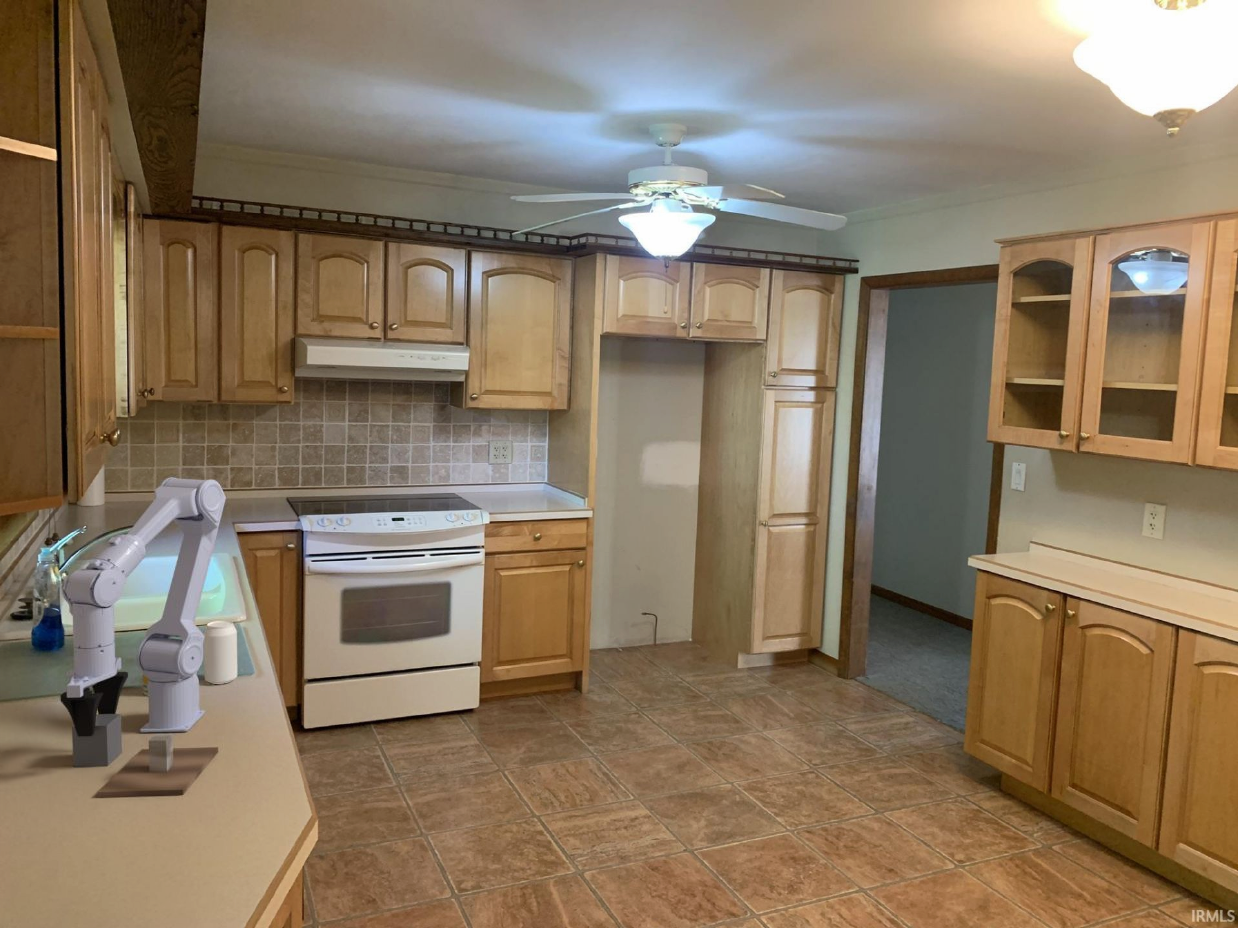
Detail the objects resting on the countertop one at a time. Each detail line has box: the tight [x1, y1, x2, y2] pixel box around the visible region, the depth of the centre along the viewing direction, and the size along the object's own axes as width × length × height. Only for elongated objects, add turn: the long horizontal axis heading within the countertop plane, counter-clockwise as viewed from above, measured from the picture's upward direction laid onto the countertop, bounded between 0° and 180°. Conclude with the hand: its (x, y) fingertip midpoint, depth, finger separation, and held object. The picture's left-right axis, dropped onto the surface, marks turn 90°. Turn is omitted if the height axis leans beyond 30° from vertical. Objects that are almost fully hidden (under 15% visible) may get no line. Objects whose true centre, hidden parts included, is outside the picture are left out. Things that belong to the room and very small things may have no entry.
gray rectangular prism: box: [71, 713, 123, 768], centre depth 148 cm, size 5×5×7 cm
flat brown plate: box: [97, 733, 219, 798], centre depth 143 cm, size 16×12×6 cm
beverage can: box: [203, 620, 238, 683], centre depth 187 cm, size 6×6×12 cm
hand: (96, 726), depth 148 cm, fingers open, 7 cm apart
